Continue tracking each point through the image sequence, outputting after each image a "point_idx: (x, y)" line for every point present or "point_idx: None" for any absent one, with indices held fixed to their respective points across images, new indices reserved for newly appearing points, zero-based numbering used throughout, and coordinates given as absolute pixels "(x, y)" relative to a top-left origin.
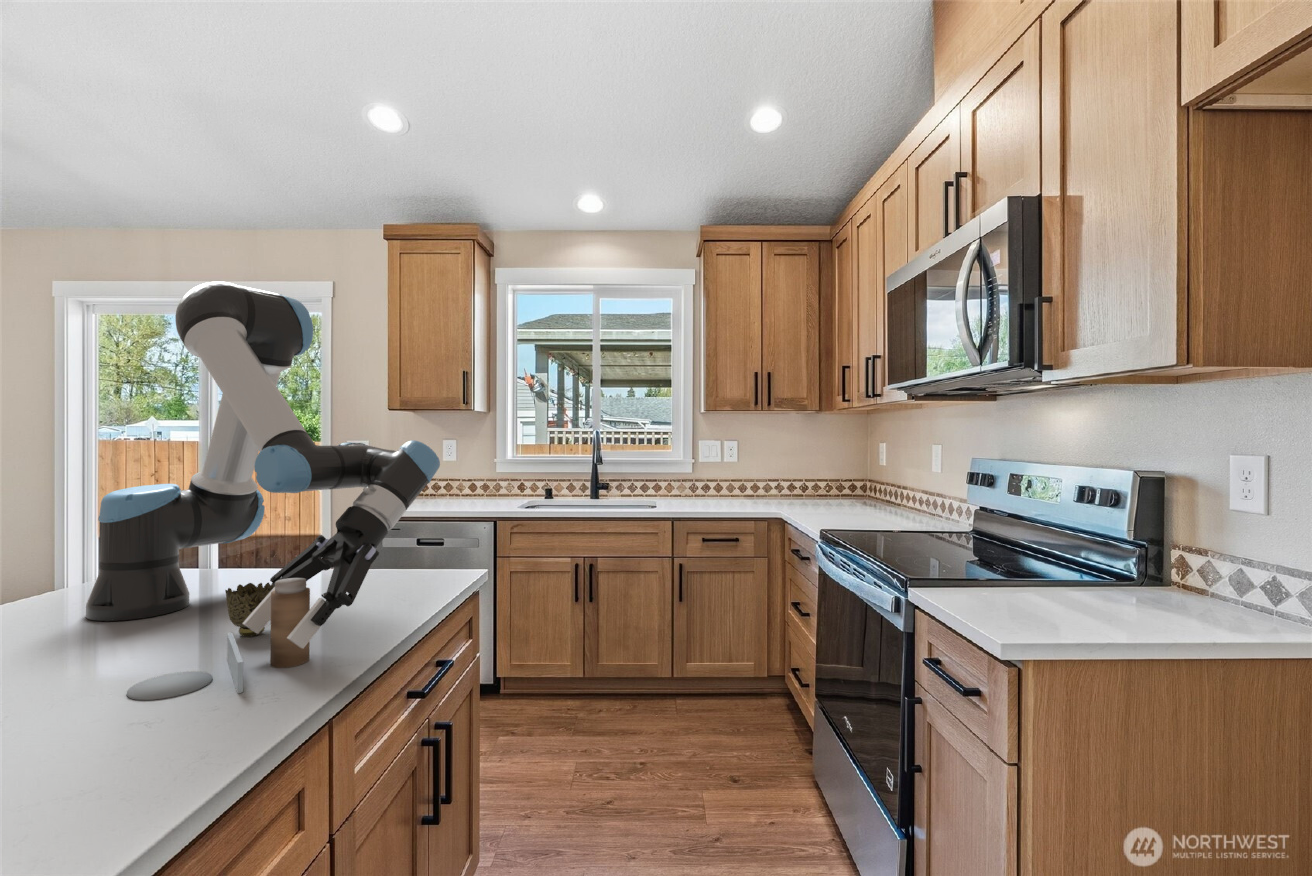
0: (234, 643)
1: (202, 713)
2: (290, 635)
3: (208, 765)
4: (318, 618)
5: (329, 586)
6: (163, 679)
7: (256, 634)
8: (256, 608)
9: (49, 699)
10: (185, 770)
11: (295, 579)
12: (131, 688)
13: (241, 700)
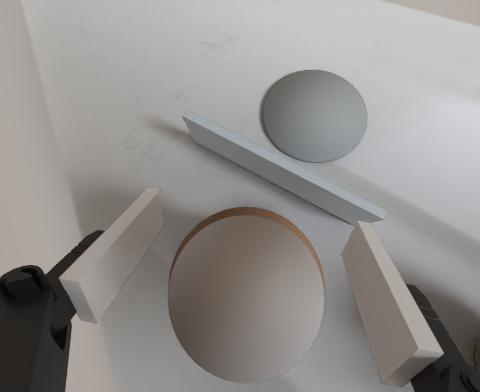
0: (298, 172)
1: (181, 83)
2: (150, 191)
3: (63, 23)
4: (85, 239)
5: (27, 347)
6: (344, 118)
7: (476, 356)
8: (385, 258)
9: (404, 34)
10: (76, 11)
11: (253, 332)
12: (345, 83)
13: (171, 124)
